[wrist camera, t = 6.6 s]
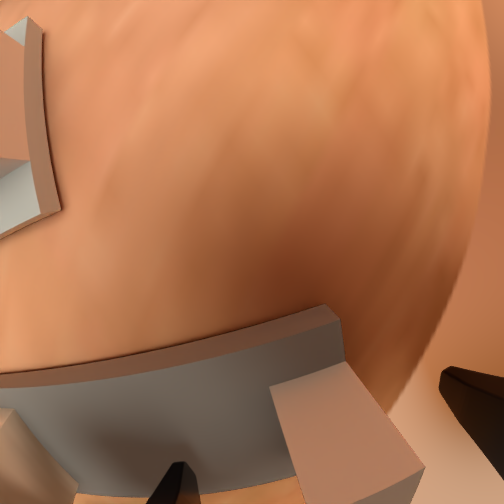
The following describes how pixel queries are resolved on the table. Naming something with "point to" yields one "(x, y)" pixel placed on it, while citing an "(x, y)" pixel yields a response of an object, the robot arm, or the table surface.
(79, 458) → the grey piece
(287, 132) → the table surface
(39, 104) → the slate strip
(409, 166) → the table surface
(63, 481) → the cream block
